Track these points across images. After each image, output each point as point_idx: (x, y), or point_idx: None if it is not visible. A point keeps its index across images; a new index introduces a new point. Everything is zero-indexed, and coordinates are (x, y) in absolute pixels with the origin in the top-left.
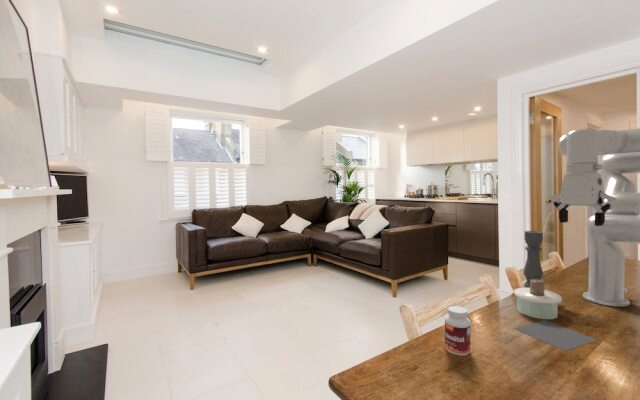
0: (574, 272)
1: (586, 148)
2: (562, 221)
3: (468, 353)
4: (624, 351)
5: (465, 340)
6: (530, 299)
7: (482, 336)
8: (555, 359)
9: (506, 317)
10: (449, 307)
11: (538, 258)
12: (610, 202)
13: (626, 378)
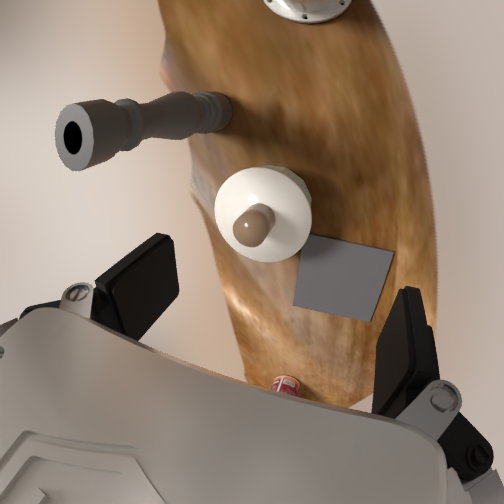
0: None
1: None
2: (176, 295)
3: (299, 385)
4: (426, 258)
5: None
6: (272, 261)
7: (282, 346)
8: (365, 342)
9: (258, 267)
10: None
11: (160, 119)
12: (466, 501)
13: None
